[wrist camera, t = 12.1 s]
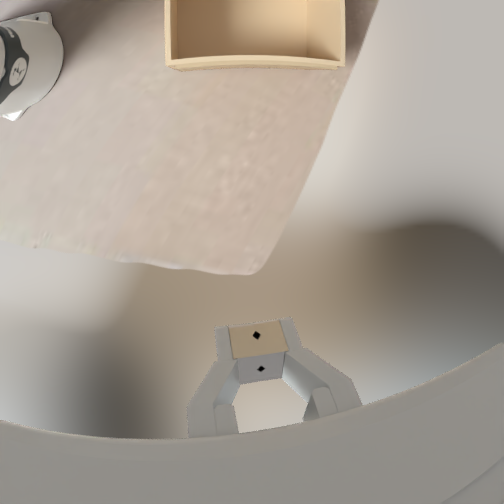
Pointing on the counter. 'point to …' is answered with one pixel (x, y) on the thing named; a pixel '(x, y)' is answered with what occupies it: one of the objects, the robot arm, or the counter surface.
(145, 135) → the counter surface
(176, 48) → the carton
